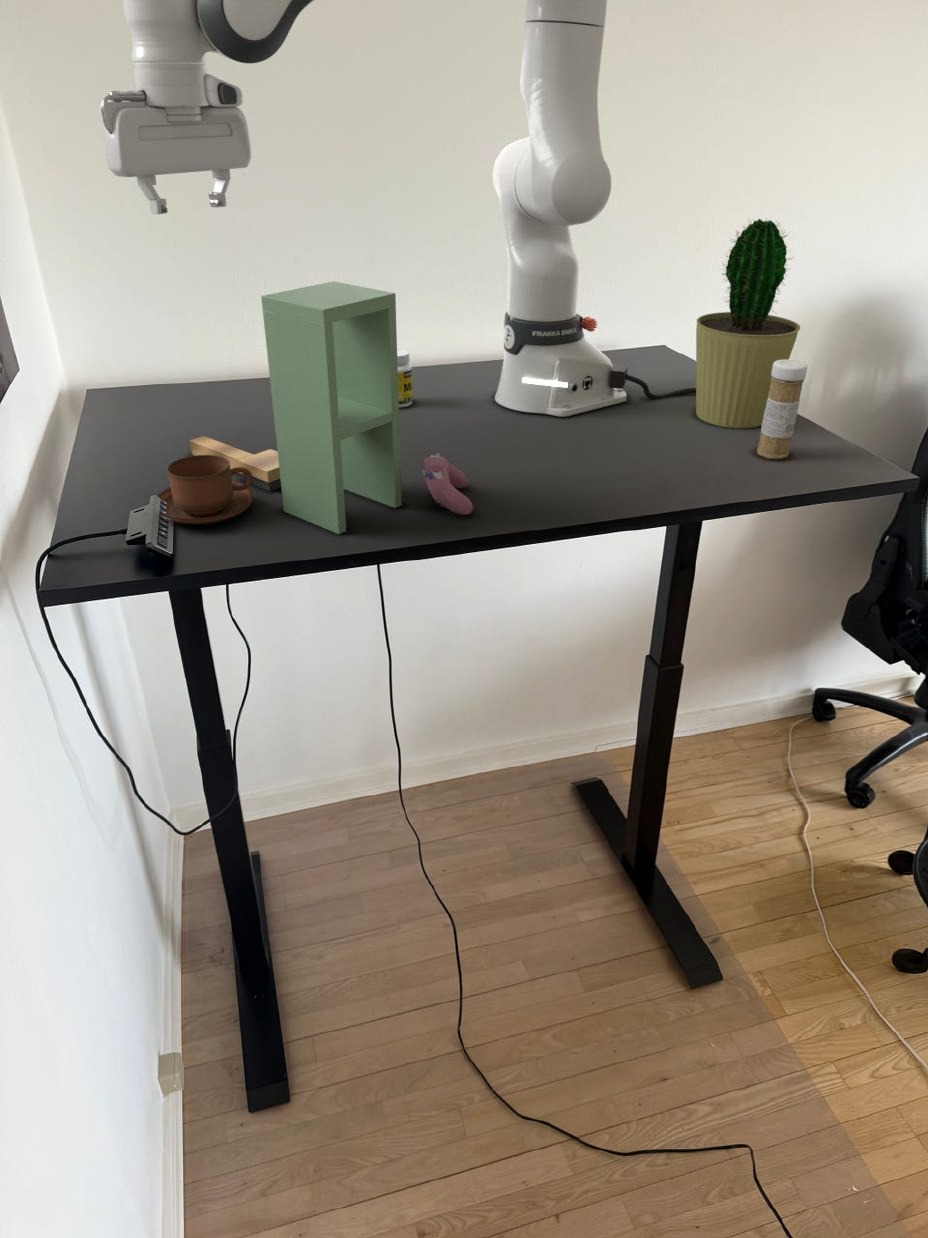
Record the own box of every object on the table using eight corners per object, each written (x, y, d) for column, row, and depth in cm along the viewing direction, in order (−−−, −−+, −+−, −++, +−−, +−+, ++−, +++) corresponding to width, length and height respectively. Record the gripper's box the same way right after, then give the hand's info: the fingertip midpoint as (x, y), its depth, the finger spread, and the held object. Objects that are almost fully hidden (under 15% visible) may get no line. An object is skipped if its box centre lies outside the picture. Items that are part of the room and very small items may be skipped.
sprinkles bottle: (773, 447, 132) (791, 356, 125) (795, 457, 129) (815, 365, 122) (749, 452, 131) (766, 360, 124) (770, 462, 127) (789, 368, 120)
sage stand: (283, 511, 112) (260, 295, 98) (347, 485, 119) (333, 280, 105) (339, 534, 106) (323, 309, 93) (402, 505, 114) (395, 292, 100)
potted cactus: (801, 426, 140) (846, 220, 125) (718, 437, 136) (753, 224, 120) (743, 397, 153) (777, 206, 137) (665, 406, 148) (691, 210, 133)
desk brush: (183, 457, 127) (179, 437, 125) (214, 447, 130) (211, 427, 129) (269, 492, 117) (267, 471, 115) (301, 480, 120) (299, 459, 119)
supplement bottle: (408, 409, 146) (407, 357, 142) (380, 407, 147) (378, 355, 142) (415, 400, 150) (414, 349, 146) (388, 398, 151) (386, 348, 146)
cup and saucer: (225, 485, 118) (219, 441, 115) (272, 514, 111) (267, 468, 108) (139, 509, 112) (130, 463, 108) (183, 542, 104) (174, 493, 101)
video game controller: (438, 497, 120) (414, 453, 116) (469, 482, 119) (445, 437, 115) (443, 529, 111) (417, 483, 108) (476, 513, 110) (451, 466, 107)
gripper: (113, 91, 104) (135, 220, 111) (252, 90, 117) (263, 205, 124) (83, 90, 107) (106, 215, 114) (222, 89, 120) (235, 201, 128)
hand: (189, 210), depth 119 cm, fingers open, 8 cm apart
